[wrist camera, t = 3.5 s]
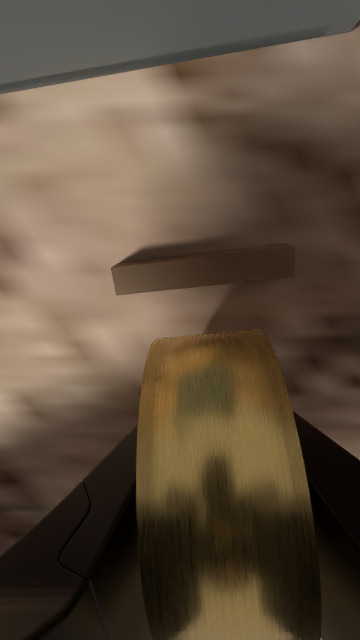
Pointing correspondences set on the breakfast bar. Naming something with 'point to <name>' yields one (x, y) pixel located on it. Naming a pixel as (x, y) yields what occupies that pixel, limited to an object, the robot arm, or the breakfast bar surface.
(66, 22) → the box
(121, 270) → the coin stand
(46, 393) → the breakfast bar surface
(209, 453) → the coin
